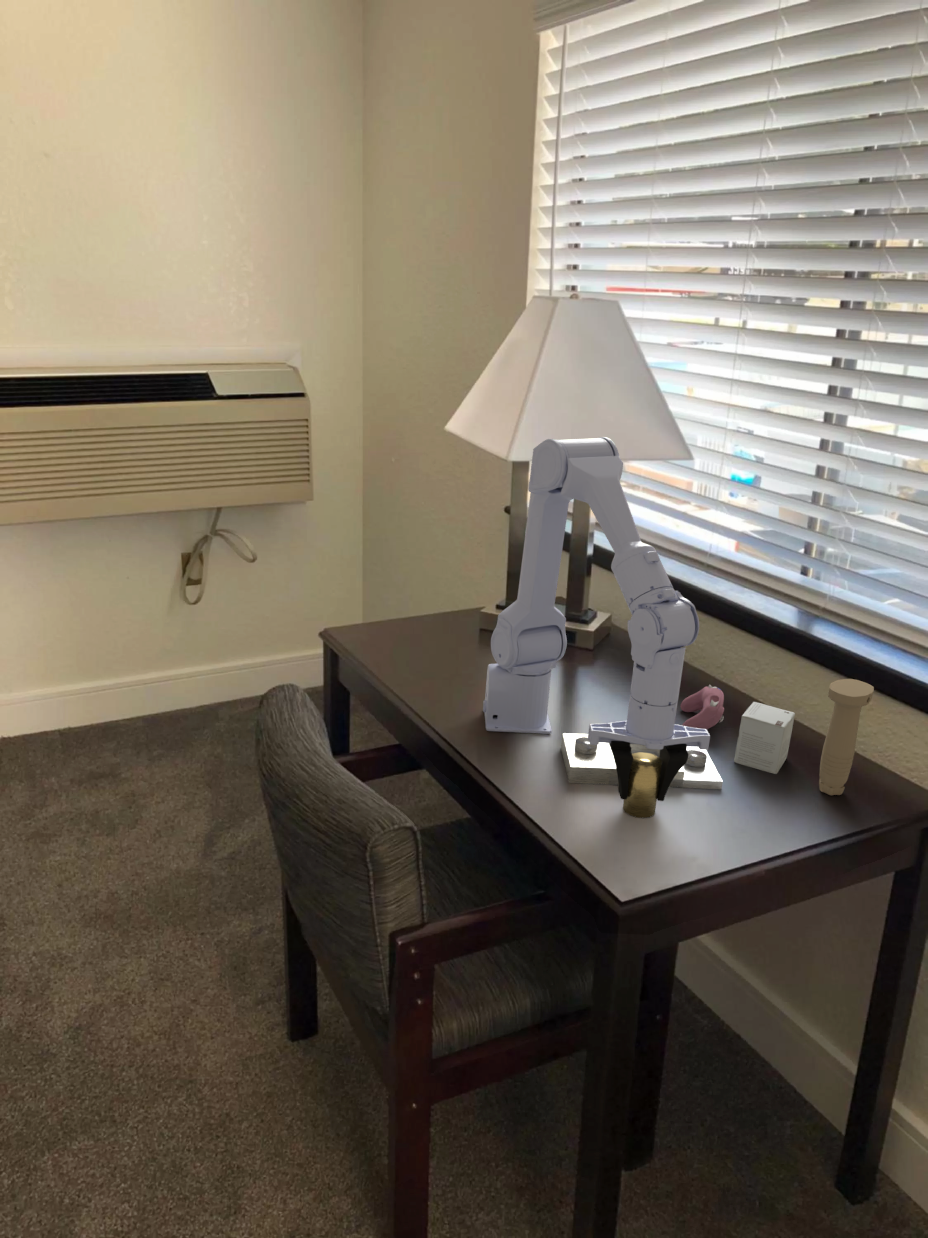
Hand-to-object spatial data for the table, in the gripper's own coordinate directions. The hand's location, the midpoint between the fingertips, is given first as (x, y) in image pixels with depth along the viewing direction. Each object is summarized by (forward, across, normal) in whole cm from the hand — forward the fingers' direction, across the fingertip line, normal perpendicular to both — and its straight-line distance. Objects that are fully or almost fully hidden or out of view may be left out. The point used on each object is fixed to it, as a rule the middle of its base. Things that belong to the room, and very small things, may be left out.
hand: (640, 796), depth 124 cm
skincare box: (+2, +20, +15) cm, 25 cm away
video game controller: (+2, +14, +26) cm, 30 cm away
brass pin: (+2, 0, 0) cm, 2 cm away
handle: (+2, +27, +7) cm, 28 cm away
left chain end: (+2, -1, +11) cm, 11 cm away
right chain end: (+2, +5, +11) cm, 12 cm away
